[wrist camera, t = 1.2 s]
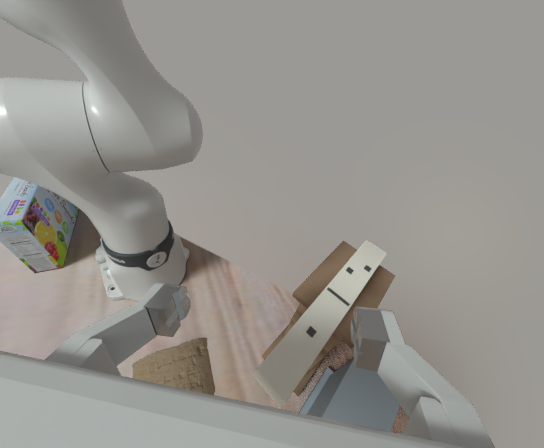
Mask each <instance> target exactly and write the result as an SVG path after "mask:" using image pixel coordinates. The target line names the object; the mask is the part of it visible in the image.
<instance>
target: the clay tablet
mask: <svg viewBox="0 0 544 448" xmlns="http://www.w3.org/2000/svg"><path fill="white" fill-rule="evenodd" d="M132 366H133V379H138V380H143V381H147V382H152V383H157V384H162V385H167V386H172V387H176V388H181V389H186V390H191V391H196V392H201V393H205V394H210V395H214V392H215V386H214V382H213V376H212V371H211V364H210V359H209V353H208V349H207V339H206V338H201V339H198V340H196V339H195V340H191V341H189V342H185V343H183V344H181V345H179V346H178V347H172V348H169V349H165V350H162V351H160V352H159V351H157V352H155V353H151V354H150V355H148V356H146V357H144V358H143V359H140V360H139V361H137V362H136V363H134V364H133V365H132Z"/></svg>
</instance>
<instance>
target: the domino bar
mask: <svg viewBox="0 0 544 448" xmlns="http://www.w3.org/2000/svg"><path fill="white" fill-rule="evenodd" d="M386 254H387V253H386V252H384V251H383V250H381V249H380V248H378V247H376V246H375V245H373V244H372V243H370V242H369V241H367V240H366V241H365V242H364V243H363V244H362V246H361V247H360V248H359V249H358V250H357V251H356V252H355V254H354V255H353V256H352V257H351V258H350V259H349V261H348V262H347V263H346V264H345V265H344V267H343V268H342V269H341V270H340V271H339V272H338V274H337V275H336V276H335V277H334V278H333V280H332V281H331V282H330V283H329V284H328V285H327V287H326V288H325V289H324V290H323V291H322V293H321V294H320V295H319V296H318V297H317V298H316V300H315V301H314V302H313V303H312V304H311V305H310V307H309V308H308V309H307V310H306V311H305V313H304V314H303V315H302V316H301V317H300V318H299V320H298V321H297V322H296V323H295V324H294V326H293V327H292V328H291V329H290V330H289V331H288V333H287V334H286V335H285V336H284V337H283V339H282V340H281V341H280V342H279V343H278V344H277V346H276V347H275V348H274V349H273V350H272V352H271V353H270V354H269V355H268V356H267V357H266V359H265V360H264V361H263V362H262V363H261V365H260V366H259V367H258V368H257V369H256V372H255V374H254V376H253V377H254V378H255V379H256V380H257V381H258V383H259V384H260V385H261V386H262V387H263V389H264V390H265V391H266V392H267V393H268V394H269V396H270V397H271V398H272V399H273V400H274V402H275V403H276V404H277V405H278V406H279V407H281V406H282V405H283V404H285V403H286V401H287V400H288V398H289V397H290V396H291V394H292V393H293V391H294V390H295V388H296V387H297V385H298V384H299V382H300V381H301V379H302V378H303V376H304V375H305V373H306V372H307V370H308V369H309V367H310V366H311V365H312V363H313V362H314V360H315V359H316V357H317V356H318V354H319V353H320V351H321V350H322V348H323V347H324V345H325V344H326V342H327V341H328V339H329V338H330V336H331V335H332V334H333V332H334V331H335V329H336V328H337V326H338V325H339V323H340V322H341V320H342V319H343V317H344V316H345V314H346V313H347V311H348V310H349V308H350V307H351V306H352V304H353V303H354V301H355V300H356V298H357V297H358V295H359V294H360V292H361V291H362V289H363V288H364V286H365V285H366V283H367V282H368V280H369V279H370V277H371V276H372V275H373V273H374V272H375V270H376V269H377V267H378V266H379V264H380V263H381V261H382V260H383V258H384V257H385V255H386Z"/></svg>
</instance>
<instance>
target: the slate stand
mask: <svg viewBox="0 0 544 448" xmlns="http://www.w3.org/2000/svg"><path fill="white" fill-rule="evenodd" d="M399 407H400V405H399V403H398V402H397V400H396V399H395V397H394V396H393V395H392V393H391V392H390V390H389V389H388V388H387V386H386V385H385V383H384V382H383V380H382V379H381V378H380V376H379V375H378V373H377V371H372V370H366V369H361V368H356V367H355V361H354V356H353V358H352V360H351V361H349V362H348V363H346V364H345V365H344V366H342V367H341V368H339V369H338V370H337V371H335V372H333V371H332V370H331V369H330V368H329V367H327V368H326V370H325V371H324V373H323V374H322V376H321V378H320V379H319V381H318V382H317V384H316V386H315V387H314V389H313V391H312V392H311V394H310V395H309V397H308V399H307V400H306V402H305V403H304V405H303V407H302V408H301V410H300V411H299V413H302V414H307V415H311V416H316V417H321V418H326V419H331V420H335V421H340V422H345V423H350V424H355V425H360V426H364V427H369V428H374V429H379V430H384V431H389V432H391V430H392V427H393V424H394V421H395V418H396V416H397V413H398V410H399Z"/></svg>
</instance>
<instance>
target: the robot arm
mask: <svg viewBox="0 0 544 448" xmlns="http://www.w3.org/2000/svg"><path fill="white" fill-rule="evenodd" d="M0 17H1V18H2V19H3V20H5V21H6V22H7V23H9V24H11V25H12V26H14V27H15V28H17V29H19V30H21V31H23V32H25V33H26V34H28V35H30V36H32V37H35V38H37V39H39V40H41V41H43V42H45V43H47V44H49V45H51V46H53V47H55V48H57V49H58V50H60V51H61V52H63V53H64V54H65V55H67V56H68V57H69V58H70V59H71V60H72V61H73V62H75V63H76V65H78V67H79V68H80V69H81V70H82V71H83V73H84V74H85V76H86V77H87V79H88V80H89V81H69V80H53V79H36V78H21V77H7V78H0V173H1V174H5V175H9V176H12V177H16V178H19V179H22V180H25V181H28V182H31V183H33V184H36V185H39V186H41V187H43V188H45V189H47V190H50V191H52V192H53V193H55V194H57V195H59V196H61V197H63V198H64V199H66V200H68V201H69V202H71V203H72V204H74V205H75V206H76V207H78V208H79V209H80V210H82V211H83V212H84V213H85V214H86V215H87V217H88V218H89V219H90V221H91V222H92V223H93V225H94V226H95V228H96V229H97V231H98V232H99V234H100V236H101V239H100V241H101V245H100V246H99V247H98V248H97V249H96V255H95V258H96V260H97V262H98V264H99V267H100V270H101V274H102V278H103V281H104V285H105V289H106V293H107V296H108V298H109V299H110V300H119V299H132V300H136V301H138V302H137V303H136V304H135V305H134V306H129V307H127V308H125V309H123V310H121V311H119V312H116V313H114V314H112V315H110V316H108V317H106V318H104V319H102V320H100V321H98V322H96V323H94V324H92V325H90V326H88V327H86V328H84V329H82V330H80V331H78V332H76V333H74V334H73V335H72V336H71V337H70V338H68V339H67V340H66V341H65V342H64V343H63V344H62V345H61V346H60V347H58V348H57V349H56V350H55V351H54V352H53V353H52V354H51V355H50V356H49V357H47V358H46V359H45V360H42V359H37V358H32V357H27V356H22V355H18V354H13V353H8V352H3V351H0V448H495V447H494V445H493V443H492V441H491V439H490V437H489V435H488V434H487V432H486V430H485V428H484V426H483V425H482V422H481V420H480V418H479V416H478V414H477V412H476V411H475V409H474V407H473V405H472V404H471V403H470V402H469V401H468V400H467V399H466V398H465V397H464V396H463V395H462V394H461V393H459V392H458V391H457V390H456V389H455V388H454V387H453V386H452V385H451V384H450V383H449V382H448V381H447V380H446V379H445V378H444V377H442V376H441V375H440V374H439V373H438V372H437V371H436V370H435V369H434V368H433V367H432V366H431V365H430V364H429V363H428V362H427V361H426V360H425V359H424V358H422V357H421V356H420V355H419V354H418V353H417V352H416V351H415V350H414V349H413V348H412V347H411V346H409V345H406V344H405V341H404V339H403V336H402V334H401V331H400V328H399V326H398V323H397V320H396V318H395V316H394V312H393V311H392V310H383V309H374V308H365V307H356V306H355V307H354V311H353V315H354V318H353V319H352V321H351V341H352V343H353V344H354V350H353V355H354V361H355V367H356V368H361V369H366V370H372V371H377V373H378V375H379V376H380V378H381V379H382V380H383V382H384V383H385V385H386V386H387V388H388V389H389V390H390V392H391V393H392V395H393V396H394V397H395V399H396V400H397V402H398V403H399V405H400V406H401V407H402V409H403V410H404V412H405V413H406V415H407V416H408V417H409V421H408V423H407V425H406V427H405V429H404V431H403V433H402V434H398V433H393V432H389V431H384V430H379V429H374V428H369V427H364V426H360V425H355V424H350V423H345V422H340V421H335V420H331V419H326V418H321V417H316V416H311V415H307V414H302V413H297V412H292V411H287V410H283V409H278V408H273V407H268V406H263V405H259V404H254V403H249V402H244V401H239V400H234V399H230V398H225V397H220V396H215V395H210V394H205V393H201V392H196V391H191V390H186V389H181V388H176V387H172V386H167V385H162V384H157V383H152V382H147V381H143V380H138V379H133V378H128V377H123V376H121V374H120V372H119V370H118V368H117V365H119V364H120V363H121V362H123V361H124V360H125V359H127V358H128V357H129V356H131V355H132V354H133V353H135V352H136V351H137V350H139V349H140V348H141V347H143V346H144V345H145V344H147V343H148V342H149V341H151V340H152V339H153V338H155V337H156V335H160V336H168V337H173V336H174V335H175V333H176V331H177V330H178V328H179V327H180V321H181V320H183V319H184V318H185V317H186V316H187V314H188V312H189V309H190V299H189V298H188V297H187V295H186V294H187V292H188V291H187V288H186V287H185V286H181V285H179V284H180V283H181V281H182V279H183V278H184V275H185V271H186V261H187V260H188V258H189V256H190V252H189V250H188V249H187V248H185V247H184V246H182V242H181V239H180V236H179V235H176V234H175V233H174V232H173V228H172V226H171V223H170V222H169V220H168V218H167V214H166V210H165V205H164V200H163V197H162V195H161V194H160V193H159V192H158V190H157V189H156V188H154V187H153V186H152V185H151V184H149V183H148V182H146V181H144V180H141V179H138V178H135V177H132V176H129V175H126V174H124V173H122V172H128V171H142V170H157V169H165V168H169V167H174V166H178V165H181V164H185V163H188V162H191V161H193V159H194V158H195V157H196V156H197V154H198V152H199V150H200V147H201V144H202V137H203V132H202V125H201V121H200V118H199V116H198V113H197V111H196V110H195V108H194V106H193V105H192V104H191V102H190V101H189V100H188V99H187V98H186V97H185V96H184V95H183V94H182V93H180V92H179V91H178V90H176V89H175V88H174V87H172V85H170V84H169V83H168V82H167V81H166V80H165V79H164V78H163V77H162V76H161V74H160V73H159V72H158V71H157V70H156V69H155V67H154V66H153V65H152V63H151V62H150V61H149V59H148V58H147V56H146V54H145V53H144V51H143V50H142V48H141V46H140V44H139V42H138V41H137V39H136V37H135V34H134V32H133V30H132V28H131V25H130V23H129V20H128V18H127V15H126V12H125V10H124V6H123V3H122V0H0ZM113 288H115V289H114V290H112V289H113Z"/></svg>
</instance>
